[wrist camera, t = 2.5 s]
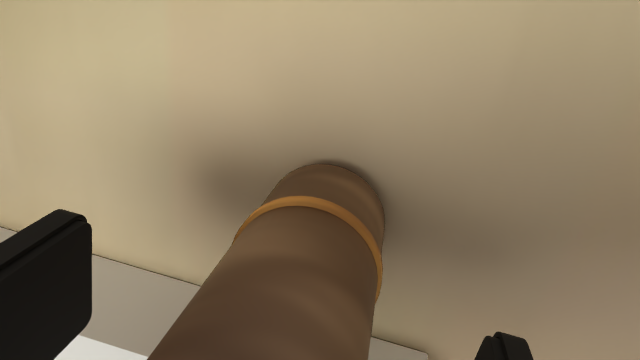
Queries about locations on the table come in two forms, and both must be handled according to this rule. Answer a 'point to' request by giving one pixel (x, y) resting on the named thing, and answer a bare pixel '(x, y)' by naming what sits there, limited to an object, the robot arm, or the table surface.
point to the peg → (291, 277)
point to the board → (150, 315)
